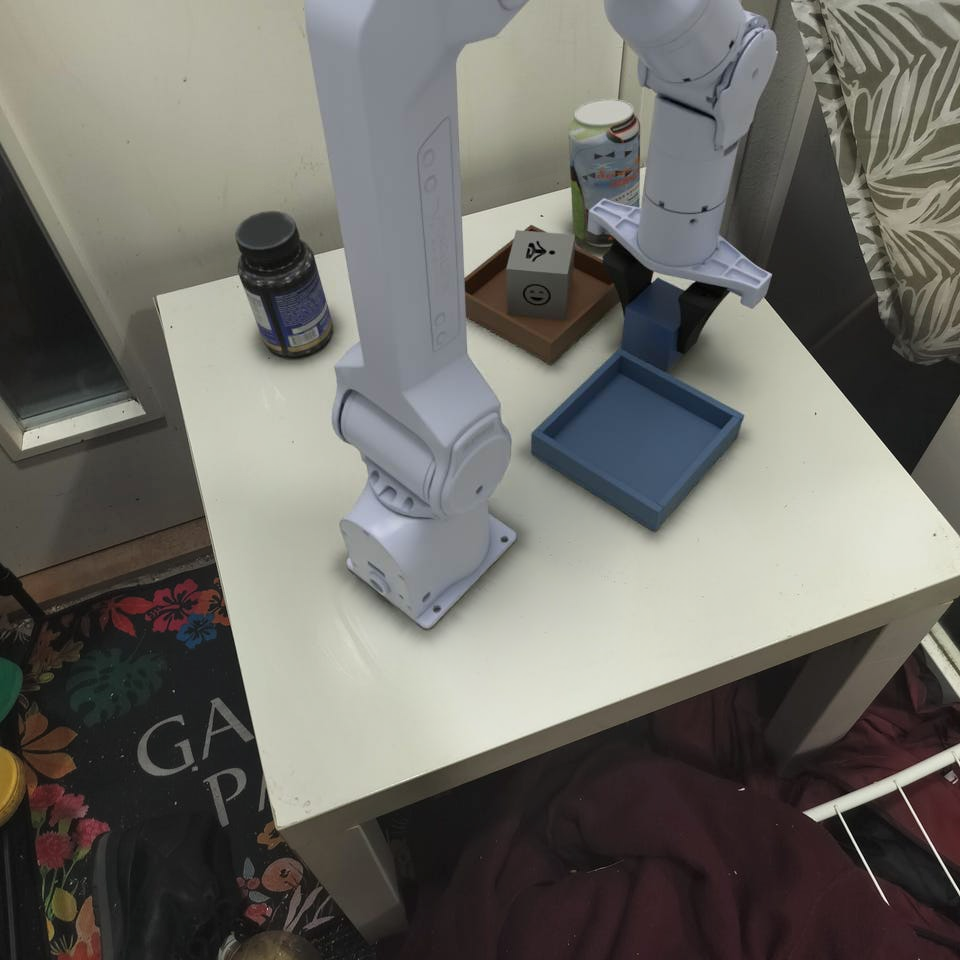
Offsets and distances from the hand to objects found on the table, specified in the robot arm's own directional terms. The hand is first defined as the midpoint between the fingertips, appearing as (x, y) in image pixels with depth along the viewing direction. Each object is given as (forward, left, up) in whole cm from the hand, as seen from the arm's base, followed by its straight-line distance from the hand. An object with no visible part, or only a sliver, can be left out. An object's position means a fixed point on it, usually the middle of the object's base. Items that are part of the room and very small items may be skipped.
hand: (661, 332), depth 69 cm
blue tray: (-10, -5, -1) cm, 11 cm away
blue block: (0, 0, -1) cm, 1 cm away
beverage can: (+9, +12, -2) cm, 15 cm away
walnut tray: (-2, +11, -1) cm, 11 cm away
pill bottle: (-18, +25, -2) cm, 31 cm away
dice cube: (-2, +11, -1) cm, 11 cm away
